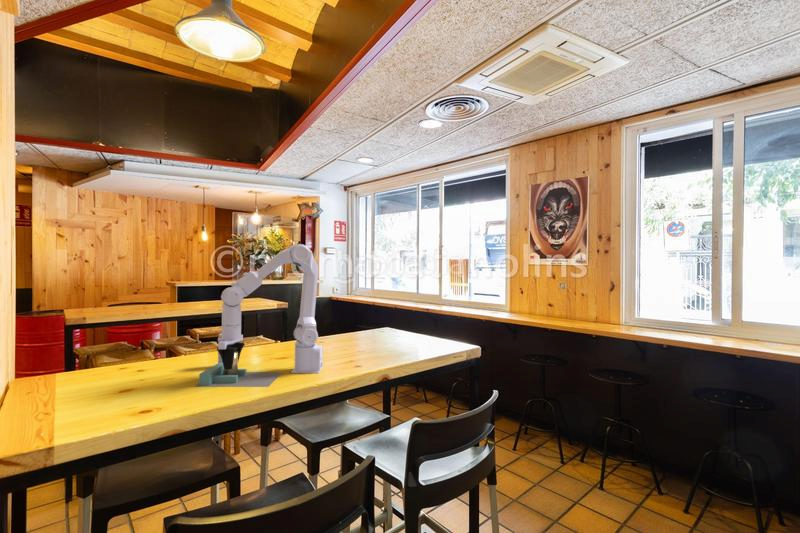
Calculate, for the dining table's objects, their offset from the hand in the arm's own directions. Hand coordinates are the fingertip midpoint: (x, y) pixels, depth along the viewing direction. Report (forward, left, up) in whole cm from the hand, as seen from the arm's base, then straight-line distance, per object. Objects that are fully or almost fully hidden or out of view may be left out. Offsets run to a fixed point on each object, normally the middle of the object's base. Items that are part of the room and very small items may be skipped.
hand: (231, 367), depth 124 cm
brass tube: (0, 0, -2) cm, 2 cm away
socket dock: (+1, 0, -4) cm, 4 cm away
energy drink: (+8, -15, -4) cm, 17 cm away
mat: (-3, 0, -4) cm, 5 cm away
